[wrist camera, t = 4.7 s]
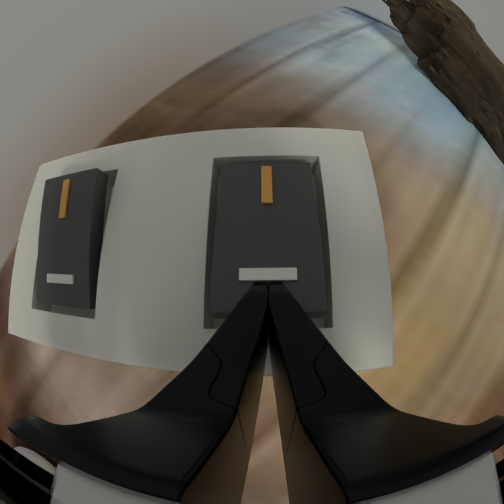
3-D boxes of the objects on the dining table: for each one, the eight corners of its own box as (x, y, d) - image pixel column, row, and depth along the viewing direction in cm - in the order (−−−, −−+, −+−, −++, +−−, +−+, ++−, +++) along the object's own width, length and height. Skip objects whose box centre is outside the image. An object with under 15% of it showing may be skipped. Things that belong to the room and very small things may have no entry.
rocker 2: (321, 317, 9) (328, 310, 8) (215, 318, 9) (208, 311, 8) (307, 178, 11) (310, 160, 10) (225, 179, 12) (221, 162, 11)
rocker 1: (102, 306, 10) (88, 309, 9) (51, 300, 11) (36, 302, 10) (108, 174, 11) (95, 167, 10) (57, 185, 11) (44, 179, 10)
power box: (343, 352, 15) (392, 365, 8) (79, 337, 16) (8, 332, 9) (324, 141, 19) (341, 70, 12) (108, 157, 20) (67, 106, 13)
